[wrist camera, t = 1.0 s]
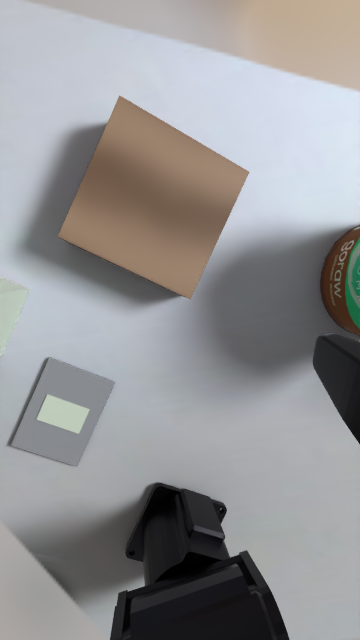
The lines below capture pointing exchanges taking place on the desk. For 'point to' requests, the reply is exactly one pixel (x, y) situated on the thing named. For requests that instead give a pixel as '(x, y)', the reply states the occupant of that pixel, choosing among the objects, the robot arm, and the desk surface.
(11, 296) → the sage block
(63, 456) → the card
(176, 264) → the walnut block
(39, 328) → the desk surface
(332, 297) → the food container
